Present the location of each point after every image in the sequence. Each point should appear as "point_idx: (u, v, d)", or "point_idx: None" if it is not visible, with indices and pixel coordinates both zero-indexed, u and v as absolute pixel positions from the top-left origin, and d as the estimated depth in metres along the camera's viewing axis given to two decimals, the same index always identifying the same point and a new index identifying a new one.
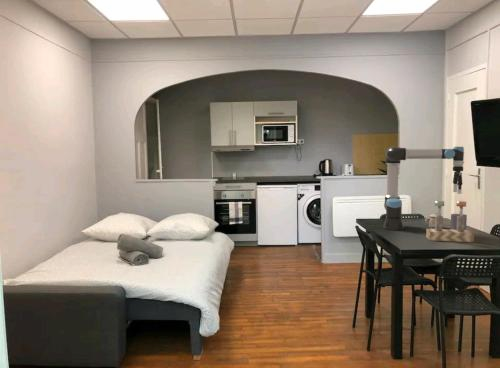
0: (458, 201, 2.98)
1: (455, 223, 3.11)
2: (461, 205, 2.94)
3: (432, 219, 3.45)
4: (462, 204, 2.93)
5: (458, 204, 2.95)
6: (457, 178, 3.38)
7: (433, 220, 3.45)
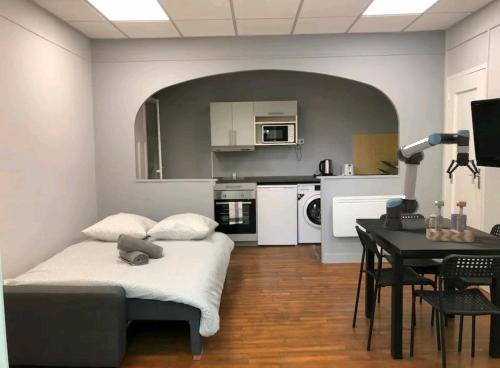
0: (458, 201, 2.98)
1: (455, 223, 3.11)
2: (461, 205, 2.94)
3: (432, 219, 3.45)
4: (462, 204, 2.93)
5: (458, 204, 2.95)
6: None
7: (433, 220, 3.45)
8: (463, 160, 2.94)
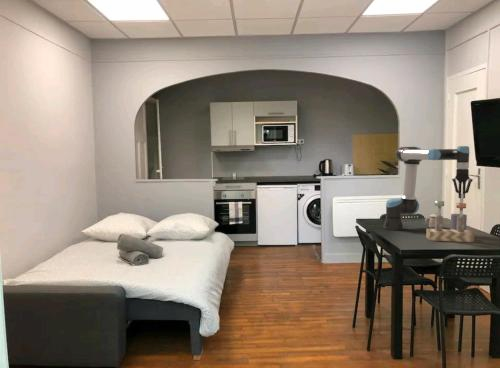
0: (458, 203, 2.98)
1: (455, 223, 3.11)
2: (461, 207, 2.94)
3: (432, 219, 3.45)
4: (462, 205, 2.93)
5: (458, 206, 2.95)
6: None
7: (433, 220, 3.45)
8: (463, 176, 2.94)
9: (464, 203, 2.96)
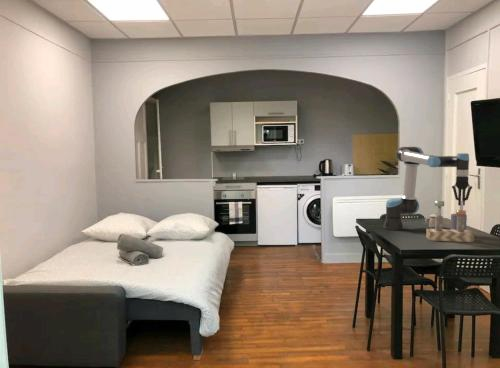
0: (458, 210, 2.98)
1: (455, 223, 3.11)
2: (461, 214, 2.94)
3: (432, 219, 3.45)
4: (461, 213, 2.94)
5: (458, 213, 2.95)
6: (458, 191, 2.97)
7: (433, 220, 3.45)
8: (462, 183, 2.94)
9: (464, 210, 2.96)
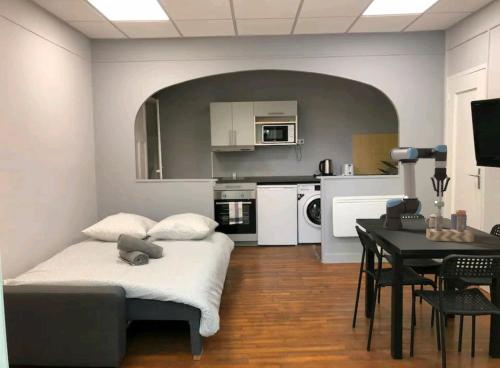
0: (458, 210, 2.98)
1: (455, 223, 3.11)
2: (461, 214, 2.94)
3: (432, 219, 3.45)
4: (461, 213, 2.94)
5: (458, 213, 2.95)
6: (437, 183, 3.00)
7: (433, 220, 3.45)
8: (441, 175, 2.96)
9: (464, 210, 2.96)
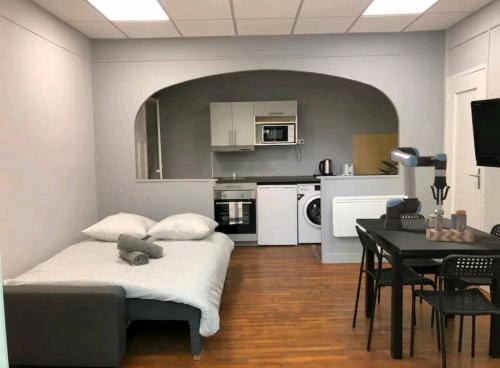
0: (458, 210, 2.98)
1: (455, 223, 3.11)
2: (461, 214, 2.94)
3: (432, 219, 3.45)
4: (461, 213, 2.94)
5: (458, 213, 2.95)
6: None
7: (433, 220, 3.45)
8: (440, 183, 2.97)
9: (464, 210, 2.96)
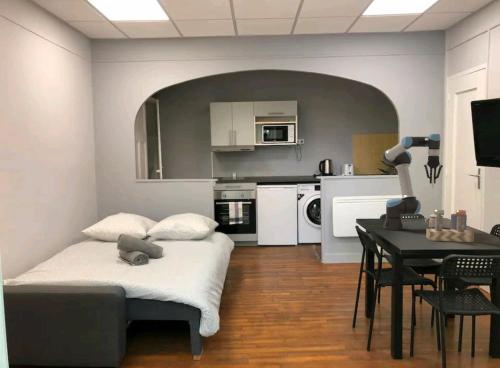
0: (458, 210, 2.98)
1: (455, 223, 3.11)
2: (461, 214, 2.94)
3: (432, 219, 3.45)
4: (461, 213, 2.94)
5: (458, 213, 2.95)
6: (430, 170, 3.13)
7: (433, 220, 3.45)
8: (433, 162, 3.10)
9: (464, 210, 2.96)
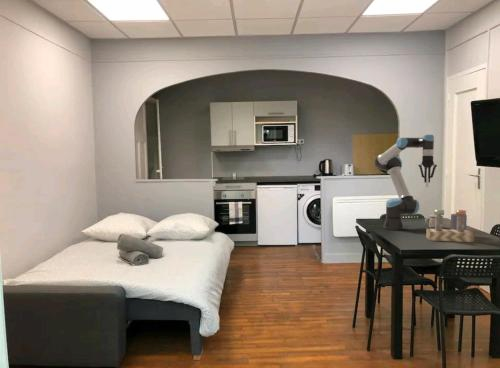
0: (458, 210, 2.98)
1: (455, 223, 3.11)
2: (461, 214, 2.94)
3: (432, 219, 3.45)
4: (461, 213, 2.94)
5: (458, 213, 2.95)
6: None
7: (433, 220, 3.45)
8: (428, 162, 3.21)
9: (464, 210, 2.96)
